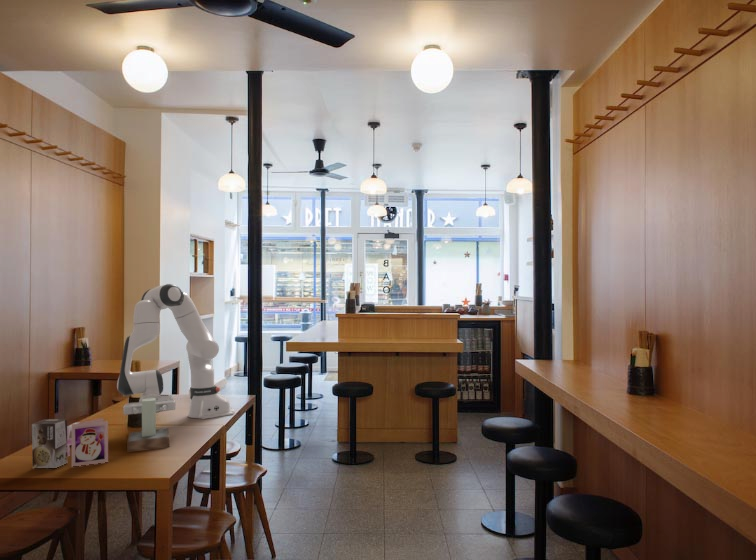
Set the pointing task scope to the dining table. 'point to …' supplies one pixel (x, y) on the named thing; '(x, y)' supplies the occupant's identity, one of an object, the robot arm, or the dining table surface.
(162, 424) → the dining table surface
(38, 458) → the coffee box
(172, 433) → the dining table surface
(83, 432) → the greeting card
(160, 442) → the walnut plinth
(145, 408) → the sage pillar
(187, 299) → the robot arm
